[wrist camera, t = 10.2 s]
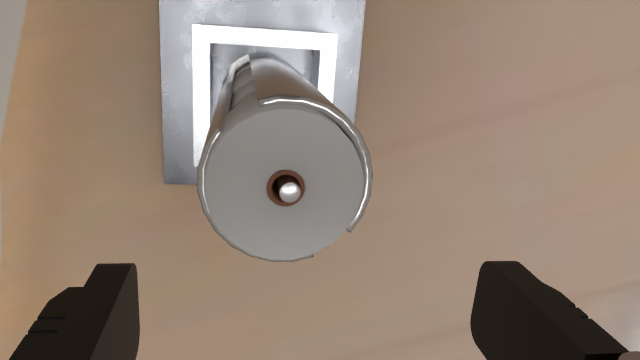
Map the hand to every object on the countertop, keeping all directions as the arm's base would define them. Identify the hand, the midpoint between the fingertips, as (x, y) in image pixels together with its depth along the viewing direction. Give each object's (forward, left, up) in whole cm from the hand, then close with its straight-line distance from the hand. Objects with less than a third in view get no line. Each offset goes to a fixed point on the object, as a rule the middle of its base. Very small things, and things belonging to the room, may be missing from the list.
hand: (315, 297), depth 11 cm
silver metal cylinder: (0, 0, -31) cm, 31 cm away
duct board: (0, 0, -32) cm, 32 cm away
